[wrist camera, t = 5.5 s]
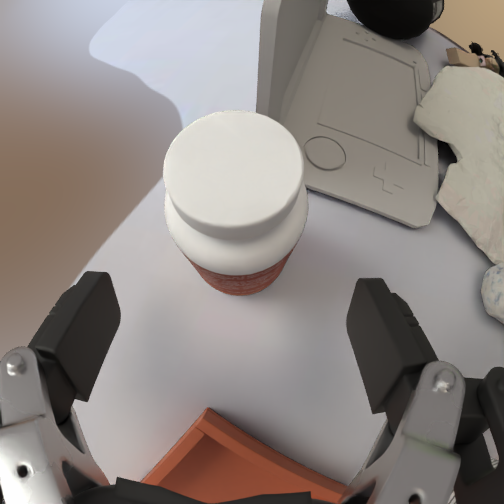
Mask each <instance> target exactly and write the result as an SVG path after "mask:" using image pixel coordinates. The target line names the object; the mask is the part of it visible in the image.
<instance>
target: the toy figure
mask: <svg viewBox="0 0 504 504" xmlns="http://www.w3.org/2000/svg"><path fill="white" fill-rule="evenodd" d="M469 48H470V49H471V52H472V53H469V54H468V53H466V52H464V51H462V50H460V49H457V48H449V49H446V52H447V56H448V60H449V63H450V64H453V65H455V66H457V67H480V68H486V69H489V70H491V71H493V72H495V73H497V74H499V75H500V76H502V77H503V78H504V62H502V60H501V59H500V58H499V56H498V55H497V53H495V52H494V51H493V50H491V52H493V54H492V55H494V56H495V58H493V57H492V56H490V55H485V54H483V53H482V51H483V49H482V48H481V47H480V45H479V44H477V43H473V42H472V44H471V45H469Z"/></svg>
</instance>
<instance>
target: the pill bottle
mask: <svg viewBox="0 0 504 504" xmlns="http://www.w3.org/2000/svg"><path fill="white" fill-rule="evenodd" d="M163 176H164V183H165V187H166V195H165V204H164V210H165V219H166V223H167V226H168V229H169V232H170V234H171V236H172V238H173V240H174V241H175V243H176V245H177V246H178V247H179V249H180V250H181V251H182V253H183V254H184V255H185V256H186V257H187V259H188V260H189V261H190V262H191V264H192V265H193V266H194V267H195V269H196V270H197V271H198V273H199V274H200V275H201V277H202V278H203V279H204V280H205V281H206V282H207V283H208V284H209V285H211V286H212V287H213V288H215V289H217V290H219V291H221V292H223V293H226V294H230V295H237V296H242V295H250V294H254V293H257V292H259V291H261V290H263V289H265V288H266V287H268V286H269V285H270V284H271V283H272V282H273V281H274V280H275V279H276V278H277V277H278V275H279V274H280V272H281V271H282V269H283V267H284V265H285V263H286V261H287V260H288V258H289V256H290V254H291V252H292V251H293V249H294V247H295V245H296V244H297V242H298V240H299V238H300V236H301V234H302V232H303V229H304V226H305V223H306V220H307V215H308V196H307V191H306V187H305V184H304V182H303V176H304V160H303V156H302V152H301V149H300V147H299V145H298V143H297V141H296V140H295V138H294V137H293V136H292V134H291V133H290V132H289V131H288V130H287V129H286V128H285V127H283V126H282V125H281V124H279V123H278V122H276V121H275V120H273V119H271V118H269V117H267V116H265V115H261V114H258V113H255V112H250V111H242V110H229V111H222V112H217V113H213V114H210V115H207V116H204V117H202V118H200V119H198V120H196V121H195V122H193V123H191V124H190V125H188V126H187V127H186V128H184V129H183V130H182V131H181V132H180V133H179V134H178V135H177V137H176V138H175V139H174V140H173V142H172V143H171V145H170V147H169V149H168V152H167V154H166V157H165V161H164V168H163Z"/></svg>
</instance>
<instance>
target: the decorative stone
mask: <svg viewBox="0 0 504 504" xmlns="http://www.w3.org/2000/svg"><path fill="white" fill-rule="evenodd" d="M481 295H482V299H483V303H484V307H485V310H486V312H487V313H488V314H489V315H490V316H493V317H494V318H496V319H497V320H498V321H500V322H501V323H503V324H504V263H499V264H498V265H496V266H493V267H491V268H489V269H488V270H487V271H486V273H485V276H484V279H483V284H482V288H481Z"/></svg>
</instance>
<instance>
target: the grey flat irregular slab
mask: <svg viewBox="0 0 504 504" xmlns="http://www.w3.org/2000/svg"><path fill="white" fill-rule="evenodd" d="M413 121H414V122H415V123H416V124H417V125H418V126H419V127H420V128H421V129H422V130H423V131H425V132H426V133H427V134H428V135H430V136H431V137H434V138H436V139H439V140H441V141H444V142H447V143H448V144H449V146H450V148H451V149H452V151H453V152H454V154H455V155H456V157H457V160H458V161H457V163H451V164H450V165H449V166H448V169H447V172H446V176H445V179H444V181H443V183H442V185H441V188H440V191H439V193H438V194H437V196H436V199H437V201H438V202H439V204H440V205H441V206H442V207H443V208H444V209H445V210H446V211H447V213H449V214H450V215H451V216H452V217H453V218H454V219H455V220H457V221H458V222H459V224H460V225H461V226H462V227H463V229H464V230H465V231H466V232H467V233H468V235H469V236H470V237H471V238H472V240H473V241H474V242H475V244H476V246H477V247H478V248H480V249H481V250H482V251H484V253H485V254H486V255H487V256H488V258H489V259H490V260H491V261H492V262H493V263H494V264H496V265H498V264H499V263H504V78H503V77H502V76H500V75H499V74H497V73H495V72H493V71H491V70H489V69H486V68H480V67H452V66H445V67H444V68H443V69H442V70H441V71H440V72H439V73H438V74H437V75H436V77H435V79H434V82H433V86H432V87H431V88H430V89H429V91H428V92H427V93H426V95H425V96H424V97H423V98H422V100H421V102H420V104H419V105H418V106H417V107H416V109H415V114H414V118H413Z"/></svg>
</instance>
